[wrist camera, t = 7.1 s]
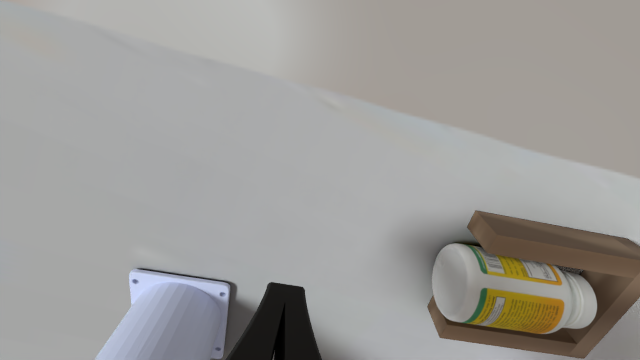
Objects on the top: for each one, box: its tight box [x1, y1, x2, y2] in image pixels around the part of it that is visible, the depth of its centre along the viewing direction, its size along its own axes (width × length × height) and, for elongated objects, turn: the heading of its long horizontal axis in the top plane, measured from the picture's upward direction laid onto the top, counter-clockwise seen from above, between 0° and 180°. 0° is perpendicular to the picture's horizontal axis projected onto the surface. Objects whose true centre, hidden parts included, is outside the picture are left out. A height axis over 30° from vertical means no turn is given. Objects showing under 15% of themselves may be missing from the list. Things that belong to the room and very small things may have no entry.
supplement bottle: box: [432, 243, 597, 334], centre depth 22 cm, size 5×5×10 cm
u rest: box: [427, 211, 640, 359], centre depth 23 cm, size 10×12×3 cm
